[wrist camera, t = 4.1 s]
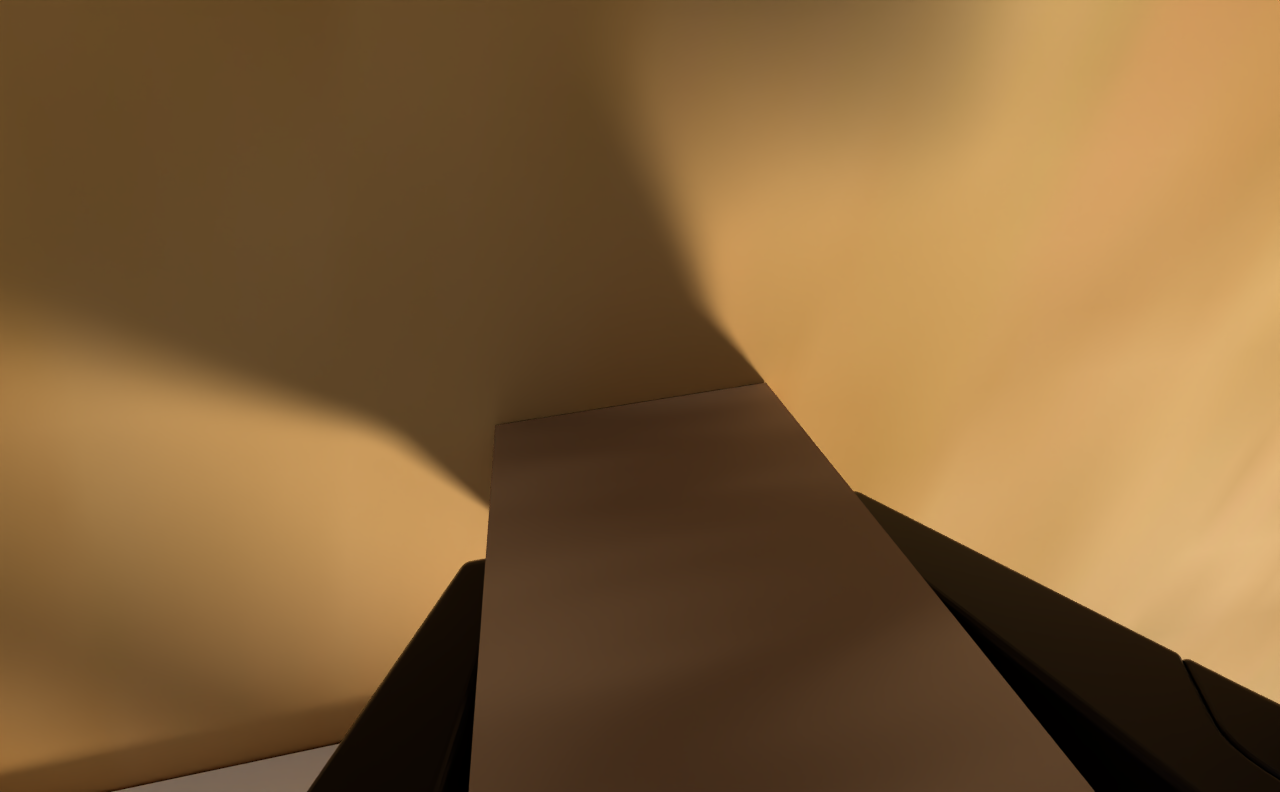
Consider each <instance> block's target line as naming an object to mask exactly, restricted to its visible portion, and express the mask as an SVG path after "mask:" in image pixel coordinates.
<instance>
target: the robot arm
mask: <svg viewBox="0 0 1280 792" xmlns="http://www.w3.org/2000/svg"><path fill="white" fill-rule="evenodd" d="M853 492H854V493H855V494H856V495H857V497H858V498H859V499H860V500H861V502H862V503H863V504H864V505H865V506H866V508H867V509H868V510H869V511H870V513H871V514H872V515H873V516H874V518H875V519H876V520H877V521H878V523H879V524H880V525H881V526H882V528H883V529H884V530H885V531H886V533H887V534H888V535H889V536H890V538H891V539H892V540H893V541H894V543H895V544H896V545H897V546H898V547H899V549H900V550H901V551H902V552H903V554H904V555H905V556H906V557H907V559H908V560H909V561H910V562H911V564H912V565H913V566H914V567H915V569H916V570H917V571H918V572H919V574H920V575H921V576H922V577H923V579H924V580H925V581H926V582H927V584H928V585H929V586H930V587H931V589H932V590H933V591H934V592H935V593H936V595H937V596H938V597H939V598H940V600H941V601H942V602H943V603H944V605H945V606H946V607H947V608H948V610H949V611H950V612H951V613H952V615H953V616H954V617H955V618H956V620H957V621H958V622H959V623H960V625H961V626H962V627H963V628H964V630H965V631H966V632H967V633H968V634H969V636H970V637H971V638H972V639H973V641H974V642H975V643H976V644H977V646H978V647H979V648H980V649H981V651H982V652H983V653H984V654H985V656H986V657H987V658H988V659H989V661H990V662H991V663H992V664H993V666H994V667H995V668H996V669H997V671H998V672H999V673H1000V674H1001V675H1002V677H1003V678H1004V679H1005V680H1006V682H1007V683H1008V684H1009V685H1010V687H1011V688H1012V689H1013V690H1014V692H1015V693H1016V694H1017V695H1018V697H1019V698H1020V699H1021V700H1022V702H1023V703H1024V704H1025V705H1026V707H1027V708H1028V709H1029V710H1030V712H1031V713H1032V714H1033V715H1034V716H1035V718H1036V719H1037V720H1038V721H1039V723H1040V724H1041V725H1042V726H1043V728H1044V729H1045V730H1046V731H1047V733H1048V734H1049V735H1050V736H1051V738H1052V739H1053V740H1054V741H1055V743H1056V744H1057V745H1058V746H1059V748H1060V749H1061V750H1062V751H1063V753H1064V754H1065V755H1066V756H1067V757H1068V759H1069V760H1070V761H1071V762H1072V764H1073V765H1074V766H1075V767H1076V769H1077V770H1078V771H1079V772H1080V774H1081V775H1082V776H1083V777H1084V779H1085V780H1086V781H1087V782H1088V784H1089V785H1090V786H1091V787H1092V789H1093V790H1094V791H1095V792H1280V704H1278V703H1276V702H1274V701H1272V700H1270V699H1268V698H1266V697H1264V696H1262V695H1260V694H1258V693H1256V692H1254V691H1252V690H1250V689H1248V688H1246V687H1244V686H1241V685H1239V684H1237V683H1235V682H1233V681H1231V680H1229V679H1228V678H1226V677H1224V676H1222V675H1220V674H1218V673H1216V672H1214V671H1212V670H1210V669H1208V668H1206V667H1204V666H1202V665H1200V664H1198V663H1196V662H1194V661H1192V660H1190V659H1184V660H1182V659H1181V657H1180V656H1179V655H1178V654H1177V653H1176V652H1174V651H1172V650H1170V649H1168V648H1166V647H1164V646H1162V645H1160V644H1158V643H1156V642H1154V641H1152V640H1150V639H1148V638H1146V637H1144V636H1142V635H1140V634H1138V633H1136V632H1134V631H1132V630H1130V629H1128V628H1126V627H1124V626H1122V625H1120V624H1118V623H1116V622H1114V621H1112V620H1110V619H1108V618H1107V617H1105V616H1103V615H1101V614H1099V613H1097V612H1095V611H1093V610H1091V609H1089V608H1087V607H1085V606H1083V605H1081V604H1079V603H1077V602H1075V601H1073V600H1071V599H1069V598H1067V597H1065V596H1063V595H1061V594H1059V593H1057V592H1055V591H1053V590H1051V589H1049V588H1047V587H1045V586H1043V585H1041V584H1039V583H1037V582H1035V581H1033V580H1031V579H1030V578H1028V577H1026V576H1024V575H1022V574H1020V573H1018V572H1016V571H1014V570H1012V569H1010V568H1008V567H1006V566H1004V565H1002V564H1000V563H998V562H996V561H994V560H992V559H990V558H988V557H986V556H984V555H982V554H980V553H978V552H976V551H974V550H972V549H970V548H968V547H966V546H964V545H962V544H960V543H958V542H956V541H954V540H953V539H951V538H949V537H947V536H945V535H943V534H941V533H939V532H937V531H935V530H933V529H931V528H929V527H927V526H925V525H923V524H921V523H919V522H917V521H915V520H913V519H911V518H909V517H907V516H905V515H903V514H901V513H899V512H897V511H895V510H893V509H891V508H889V507H887V506H885V505H883V504H881V503H879V502H877V501H876V500H874V499H872V498H870V497H868V496H866V495H864V494H862V493H859V492H856V491H853ZM485 562H486V558H485V559H480V560H474V561H469V562H467V563H465V564H464V565H463V566H462V567H461V568H460V570H459V571H458V573H457V574H456V576H455V577H454V579H453V580H452V581H451V583H450V584H449V586H448V587H447V589H446V590H445V592H444V593H443V594H442V596H441V597H440V599H439V600H438V602H437V603H436V605H435V606H434V608H433V609H432V610H431V612H430V613H429V615H428V616H427V618H426V619H425V621H424V622H423V624H422V625H421V626H420V628H419V629H418V631H417V632H416V634H415V635H414V637H413V638H412V639H411V641H410V642H409V644H408V645H407V647H406V648H405V650H404V651H403V653H402V654H401V655H400V657H399V658H398V660H397V661H396V663H395V664H394V666H393V667H392V669H391V670H390V671H389V673H388V674H387V676H386V677H385V679H384V680H383V682H382V683H381V685H380V686H379V687H378V689H377V690H376V692H375V693H374V695H373V696H372V698H371V699H370V700H369V702H368V703H367V705H366V706H365V708H364V709H363V711H362V712H361V714H360V715H359V716H358V718H357V719H356V721H355V722H354V724H353V725H352V727H351V728H350V730H349V731H348V732H347V734H346V735H345V737H344V738H343V740H342V741H341V743H340V744H339V746H338V747H337V748H336V750H335V751H334V753H333V754H332V756H331V757H330V759H329V760H328V761H327V763H326V764H325V766H324V767H323V769H322V770H321V772H320V773H319V775H318V776H317V777H316V779H315V780H314V782H313V783H312V785H311V786H310V788H309V789H308V791H307V792H469V780H470V767H471V753H472V739H473V726H474V712H475V698H476V685H477V671H478V657H479V644H480V630H481V616H482V603H483V589H484V575H485Z"/></svg>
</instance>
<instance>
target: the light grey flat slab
mask: <svg viewBox="0 0 1280 792" xmlns="http://www.w3.org/2000/svg"><path fill="white" fill-rule="evenodd" d="M338 746H339V744H336V745H331V746H326V747H322V748H317V749H312V750H307V751H303V752H298V753H293V754H288V755H284V756H279V757H274V758H269V759H265V760H260V761H255V762H251V763H246V764H241V765H236V766H232V767H227V768H222V769H217V770H213V771H208V772H203V773H198V774H194V775H189V776H184V777H180V778H175V779H170V780H165V781H161V782H156V783H151V784H146V785H142V786H137V787H132V788H127V789H123V790H118V791H113V792H307V791H308V789H309V788H310V786H311V785H312V783H313V782H314V780H315V779H316V777H317V776H318V775H319V773H320V772H321V770H322V769H323V767H324V766H325V764H326V763H327V761H328V760H329V759H330V757H331V756H332V754H333V753H334V751H335V750H336V748H337V747H338Z"/></svg>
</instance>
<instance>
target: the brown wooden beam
mask: <svg viewBox="0 0 1280 792" xmlns="http://www.w3.org/2000/svg"><path fill="white" fill-rule="evenodd" d="M469 792H1095V791H1094V790H1093V789H1092V787H1091V786H1090V785H1089V784H1088V782H1087V781H1086V780H1085V779H1084V777H1083V776H1082V775H1081V774H1080V772H1079V771H1078V770H1077V769H1076V767H1075V766H1074V765H1073V764H1072V762H1071V761H1070V760H1069V759H1068V757H1067V756H1066V755H1065V754H1064V753H1063V751H1062V750H1061V749H1060V748H1059V746H1058V745H1057V744H1056V743H1055V741H1054V740H1053V739H1052V738H1051V736H1050V735H1049V734H1048V733H1047V731H1046V730H1045V729H1044V728H1043V726H1042V725H1041V724H1040V723H1039V721H1038V720H1037V719H1036V718H1035V716H1034V715H1033V714H1032V713H1031V712H1030V710H1029V709H1028V708H1027V707H1026V705H1025V704H1024V703H1023V702H1022V700H1021V699H1020V698H1019V697H1018V695H1017V694H1016V693H1015V692H1014V690H1013V689H1012V688H1011V687H1010V685H1009V684H1008V683H1007V682H1006V680H1005V679H1004V678H1003V677H1002V675H1001V674H1000V673H999V672H998V671H997V669H996V668H995V667H994V666H993V664H992V663H991V662H990V661H989V659H988V658H987V657H986V656H985V654H984V653H983V652H982V651H981V649H980V648H979V647H978V646H977V644H976V643H975V642H974V641H973V639H972V638H971V637H970V636H969V634H968V633H967V632H966V631H965V630H964V628H963V627H962V626H961V625H960V623H959V622H958V621H957V620H956V618H955V617H954V616H953V615H952V613H951V612H950V611H949V610H948V608H947V607H946V606H945V605H944V603H943V602H942V601H941V600H940V598H939V597H938V596H937V595H936V593H935V592H934V591H933V590H932V589H931V587H930V586H929V585H928V584H927V582H926V581H925V580H924V579H923V577H922V576H921V575H920V574H919V572H918V571H917V570H916V569H915V567H914V566H913V565H912V564H911V562H910V561H909V560H908V559H907V557H906V556H905V555H904V554H903V552H902V551H901V550H900V549H899V547H898V546H897V545H896V544H895V543H894V541H893V540H892V539H891V538H890V536H889V535H888V534H887V533H886V531H885V530H884V529H883V528H882V526H881V525H880V524H879V523H878V521H877V520H876V519H875V518H874V516H873V515H872V514H871V513H870V511H869V510H868V509H867V508H866V506H865V505H864V504H863V503H862V502H861V500H860V499H859V498H858V497H857V495H856V494H855V493H854V492H853V490H852V489H851V488H850V487H849V485H848V484H847V483H846V482H845V480H844V479H843V478H842V477H841V475H840V474H839V473H838V472H837V470H836V469H835V468H834V467H833V465H832V464H831V463H830V462H829V461H828V459H827V458H826V457H825V456H824V454H823V453H822V452H821V451H820V449H819V448H818V447H817V446H816V444H815V443H814V442H813V441H812V439H811V438H810V437H809V436H808V434H807V433H806V432H805V431H804V429H803V428H802V427H801V426H800V424H799V423H798V422H797V421H796V420H795V418H794V417H793V416H792V415H791V413H790V412H789V411H788V410H787V408H786V407H785V406H784V405H783V403H782V402H781V401H780V400H779V398H778V397H777V396H776V395H775V393H774V392H773V391H772V390H771V388H770V387H769V386H768V385H767V383H760V384H754V385H747V386H741V387H735V388H728V389H722V390H716V391H710V392H703V393H697V394H691V395H684V396H678V397H672V398H665V399H659V400H653V401H646V402H640V403H634V404H628V405H621V406H615V407H609V408H602V409H596V410H590V411H583V412H577V413H571V414H564V415H558V416H552V417H545V418H539V419H533V420H527V421H520V422H514V423H508V424H501V425H495V439H494V452H493V466H492V480H491V493H490V507H489V521H488V534H487V548H486V562H485V575H484V589H483V603H482V616H481V630H480V644H479V657H478V671H477V685H476V698H475V712H474V726H473V739H472V753H471V767H470V780H469Z"/></svg>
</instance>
